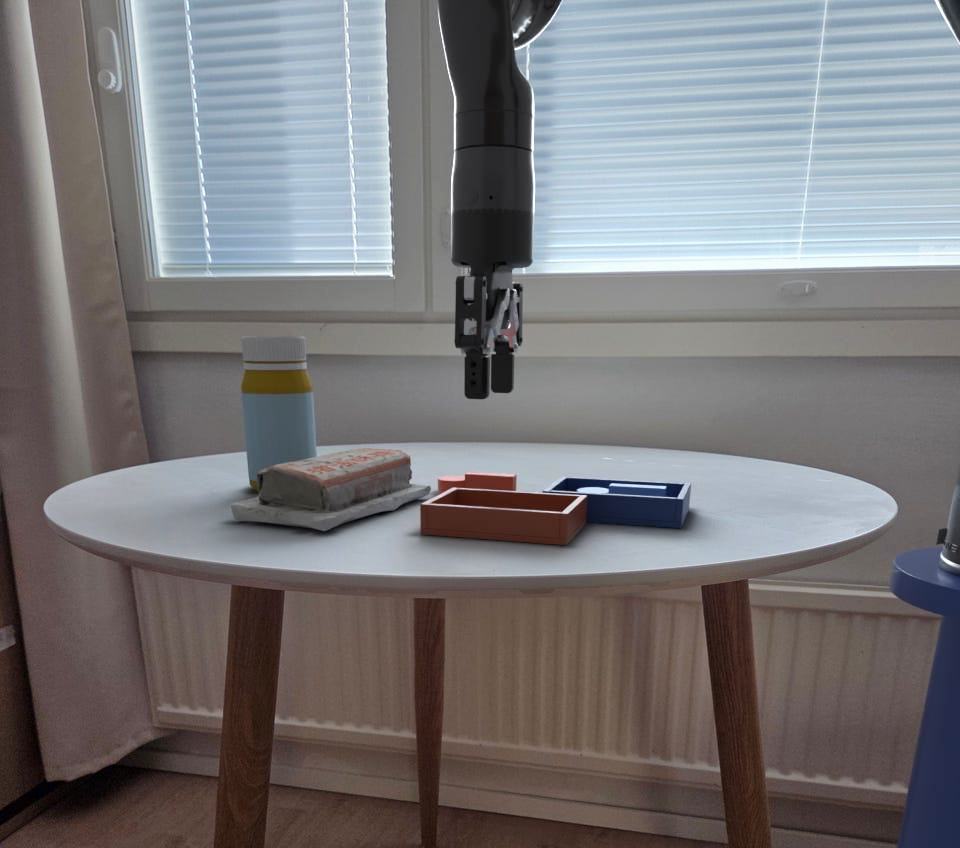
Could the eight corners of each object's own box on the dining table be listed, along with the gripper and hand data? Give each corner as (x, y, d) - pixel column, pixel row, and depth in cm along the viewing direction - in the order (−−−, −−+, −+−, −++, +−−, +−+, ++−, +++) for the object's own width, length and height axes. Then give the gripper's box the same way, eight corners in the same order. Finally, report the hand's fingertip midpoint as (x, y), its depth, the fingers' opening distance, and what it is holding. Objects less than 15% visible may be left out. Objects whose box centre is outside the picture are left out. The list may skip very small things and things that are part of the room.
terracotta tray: (586, 524, 75) (587, 495, 74) (566, 545, 68) (567, 513, 67) (452, 514, 79) (452, 487, 78) (420, 534, 71) (419, 504, 71)
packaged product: (345, 442, 89) (431, 448, 85) (347, 489, 90) (431, 498, 86) (224, 466, 74) (322, 475, 69) (229, 522, 75) (325, 534, 71)
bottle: (323, 483, 94) (315, 336, 89) (312, 495, 87) (302, 337, 82) (259, 483, 94) (246, 336, 89) (242, 494, 87) (228, 336, 82)
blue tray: (688, 510, 81) (691, 483, 80) (681, 528, 74) (683, 499, 73) (560, 502, 85) (561, 476, 84) (541, 518, 77) (541, 490, 76)
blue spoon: (666, 508, 79) (668, 484, 79) (662, 515, 76) (664, 490, 76) (579, 503, 81) (580, 479, 81) (572, 509, 79) (573, 485, 78)
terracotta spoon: (518, 494, 88) (519, 473, 87) (510, 500, 85) (510, 477, 85) (444, 490, 90) (443, 469, 90) (433, 495, 88) (433, 473, 87)
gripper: (512, 198, 71) (507, 403, 77) (550, 217, 84) (544, 392, 90) (426, 200, 73) (427, 400, 79) (476, 219, 86) (475, 389, 92)
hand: (490, 395), depth 84 cm, fingers open, 8 cm apart
